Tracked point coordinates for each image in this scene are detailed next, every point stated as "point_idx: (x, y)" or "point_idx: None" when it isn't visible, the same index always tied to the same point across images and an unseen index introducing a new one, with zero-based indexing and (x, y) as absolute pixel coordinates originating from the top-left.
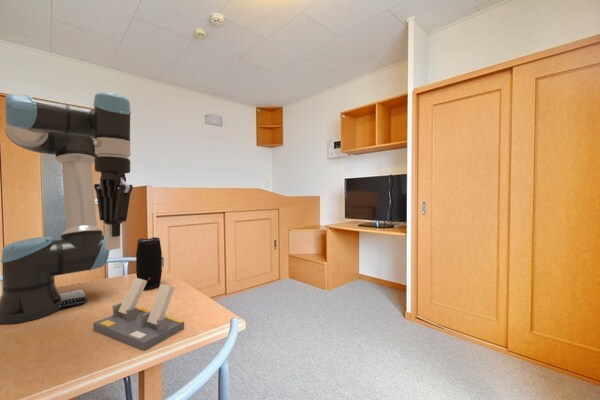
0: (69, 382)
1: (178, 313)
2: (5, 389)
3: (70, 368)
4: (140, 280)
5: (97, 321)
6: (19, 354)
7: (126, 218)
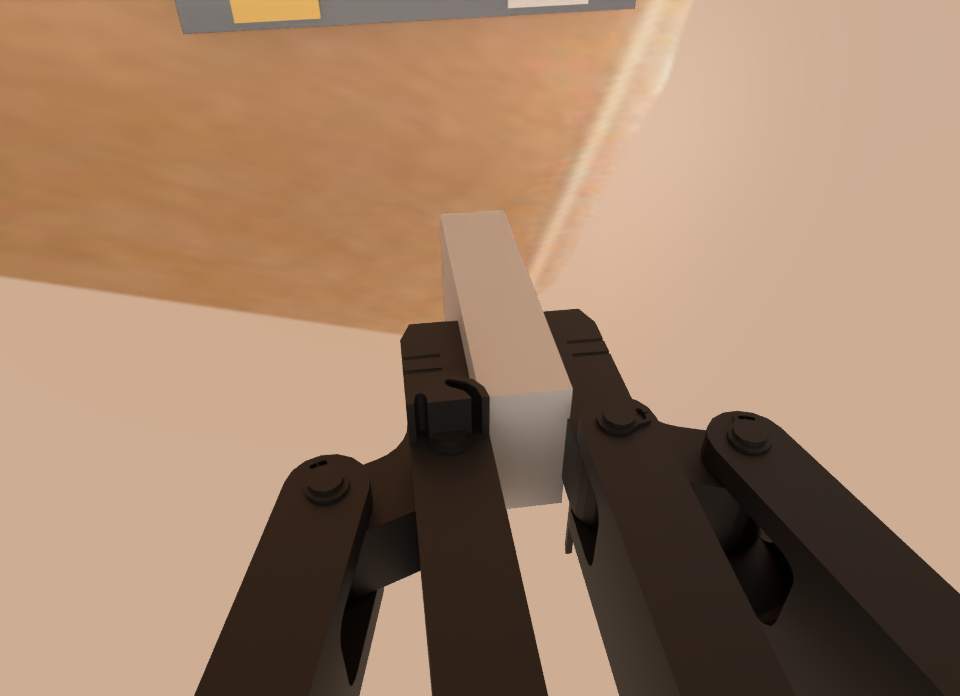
0: (551, 241)
1: None
2: None
3: None
4: None
5: (185, 12)
6: (206, 276)
7: (797, 446)
